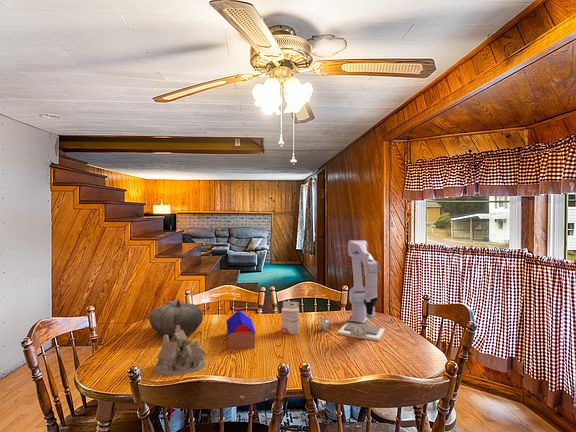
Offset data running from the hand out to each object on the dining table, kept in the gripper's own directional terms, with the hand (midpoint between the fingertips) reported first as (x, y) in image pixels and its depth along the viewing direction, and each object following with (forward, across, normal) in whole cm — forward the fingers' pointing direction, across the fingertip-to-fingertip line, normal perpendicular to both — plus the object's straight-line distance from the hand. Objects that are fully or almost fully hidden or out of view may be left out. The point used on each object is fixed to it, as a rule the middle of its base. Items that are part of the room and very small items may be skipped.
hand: (370, 313), depth 173 cm
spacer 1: (+10, +6, -22) cm, 25 cm away
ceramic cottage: (+10, +70, -58) cm, 92 cm away
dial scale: (+10, +2, -4) cm, 11 cm away
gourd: (+10, +42, -85) cm, 96 cm away
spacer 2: (+2, 0, 0) cm, 2 cm away
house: (+10, +37, -52) cm, 65 cm away
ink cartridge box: (+10, +17, -36) cm, 41 cm away
